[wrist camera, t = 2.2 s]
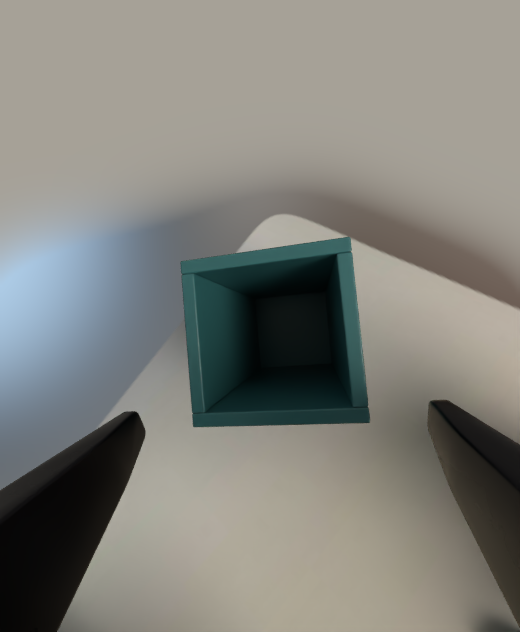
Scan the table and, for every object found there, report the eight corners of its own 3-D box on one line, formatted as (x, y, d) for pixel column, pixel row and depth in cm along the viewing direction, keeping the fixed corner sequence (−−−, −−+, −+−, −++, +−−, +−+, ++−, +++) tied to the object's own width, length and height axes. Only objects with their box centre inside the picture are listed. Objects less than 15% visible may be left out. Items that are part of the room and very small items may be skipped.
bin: (339, 368, 20) (370, 423, 9) (256, 374, 21) (192, 427, 10) (330, 284, 20) (350, 236, 9) (249, 293, 21) (179, 260, 10)
